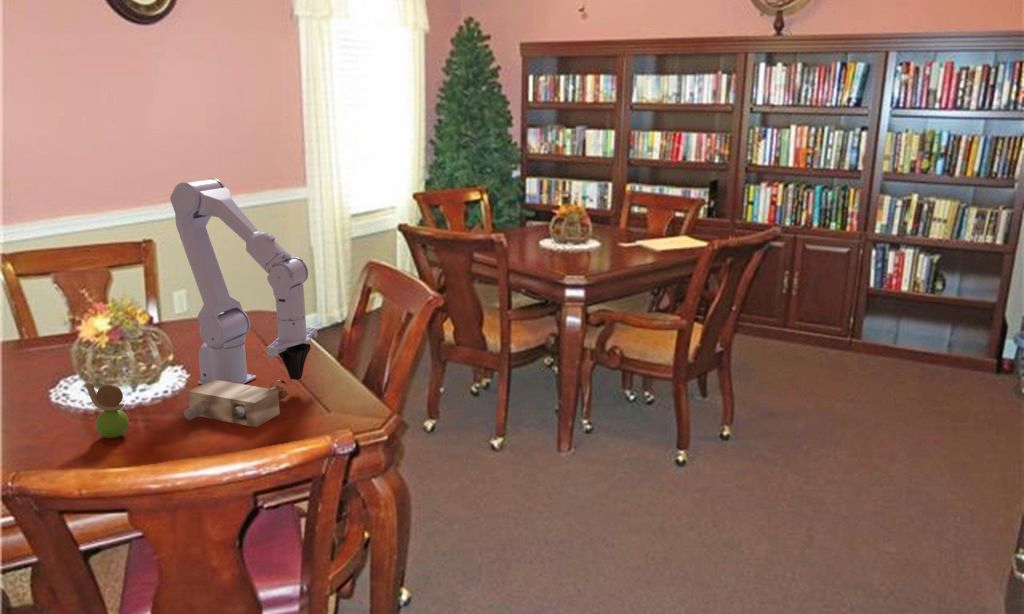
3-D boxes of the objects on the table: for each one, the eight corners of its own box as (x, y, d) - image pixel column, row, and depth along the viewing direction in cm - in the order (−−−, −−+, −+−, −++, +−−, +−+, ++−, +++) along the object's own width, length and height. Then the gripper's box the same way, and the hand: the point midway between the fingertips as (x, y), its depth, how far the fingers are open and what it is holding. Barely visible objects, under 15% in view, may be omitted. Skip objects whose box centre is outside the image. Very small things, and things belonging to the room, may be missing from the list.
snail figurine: (99, 431, 146) (91, 371, 143) (135, 430, 147) (127, 370, 143) (86, 443, 141) (77, 381, 138) (123, 442, 141) (115, 381, 138)
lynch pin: (231, 420, 150) (229, 400, 149) (273, 396, 162) (272, 378, 161) (247, 423, 149) (246, 403, 148) (289, 399, 161) (288, 381, 159)
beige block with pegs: (173, 423, 150) (170, 399, 148) (218, 400, 161) (216, 377, 160) (240, 436, 144) (238, 411, 143) (282, 411, 155) (281, 388, 154)
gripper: (285, 328, 153) (290, 392, 157) (327, 310, 167) (331, 369, 170) (256, 324, 156) (261, 388, 160) (300, 306, 169) (304, 365, 173)
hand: (295, 378), depth 165 cm, fingers closed
